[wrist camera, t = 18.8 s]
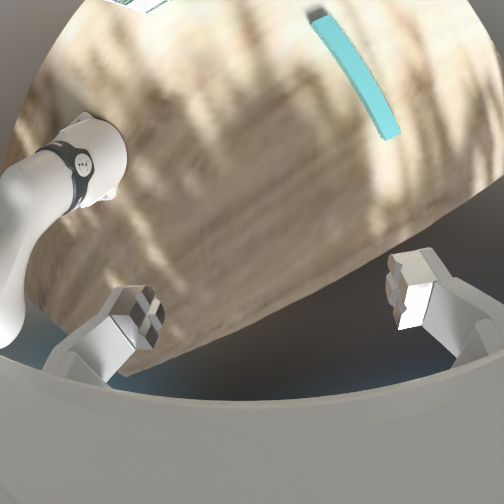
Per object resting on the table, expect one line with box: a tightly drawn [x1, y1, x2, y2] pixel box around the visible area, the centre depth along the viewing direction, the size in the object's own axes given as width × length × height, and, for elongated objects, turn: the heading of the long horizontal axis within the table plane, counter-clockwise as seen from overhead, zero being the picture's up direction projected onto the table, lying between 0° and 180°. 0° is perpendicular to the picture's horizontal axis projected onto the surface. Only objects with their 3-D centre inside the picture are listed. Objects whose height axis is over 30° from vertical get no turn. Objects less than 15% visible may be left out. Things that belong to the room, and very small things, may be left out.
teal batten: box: [311, 14, 401, 141], centre depth 31 cm, size 21×3×3 cm, turn 35°
